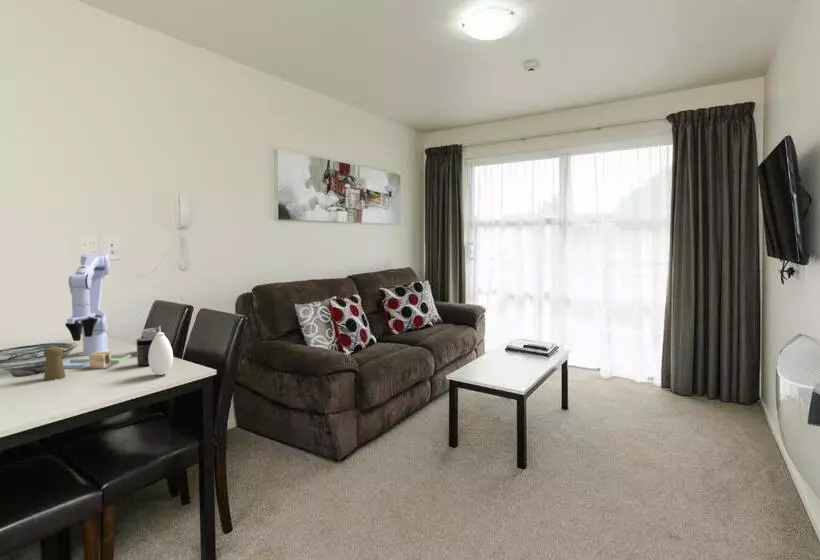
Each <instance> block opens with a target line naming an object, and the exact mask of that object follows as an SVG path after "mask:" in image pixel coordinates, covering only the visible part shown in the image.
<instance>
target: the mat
mask: <svg viewBox="0 0 820 560" xmlns="http://www.w3.org/2000/svg"><path fill="white" fill-rule="evenodd" d="M117 364H118V363H111V364H110V365H108V366H106V367H104V368H90V365H88V366H86V367H84V368H83V370H85V371H87V370H89V371H90V370H91V371H92V370H107V369H110V368H112V367H115V366H116V365H117Z"/></svg>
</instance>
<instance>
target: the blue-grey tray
mask: <svg viewBox="0 0 820 560" xmlns="http://www.w3.org/2000/svg"><path fill="white" fill-rule="evenodd" d="M62 362H63V367H64V370H71V369H74V370H75V369H84V368H86V367H89V366H90V365H89V358H73V359H72V358H70V359H67V360H65V361H62Z"/></svg>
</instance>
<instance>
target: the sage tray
mask: <svg viewBox="0 0 820 560" xmlns="http://www.w3.org/2000/svg"><path fill="white" fill-rule="evenodd" d="M131 358H132V354H131V353H130V354H111V363H117V364H121V363H123V362H125V361H127V360H128V359H131Z"/></svg>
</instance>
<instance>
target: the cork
mask: <svg viewBox="0 0 820 560" xmlns="http://www.w3.org/2000/svg"><path fill="white" fill-rule="evenodd" d="M63 353H64V350H63V348H62V347H61V346H49V347H46V348H45V349H44V351H43V355H44V357H45V365H44V374H43V381H46V380H52V381H56V380H55V379H59V380H61V378H63V379H64V377H65V376H66V372H65V369H64V367H63V362H64V361H63V358H62V355H63ZM65 378H66V377H65Z"/></svg>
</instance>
